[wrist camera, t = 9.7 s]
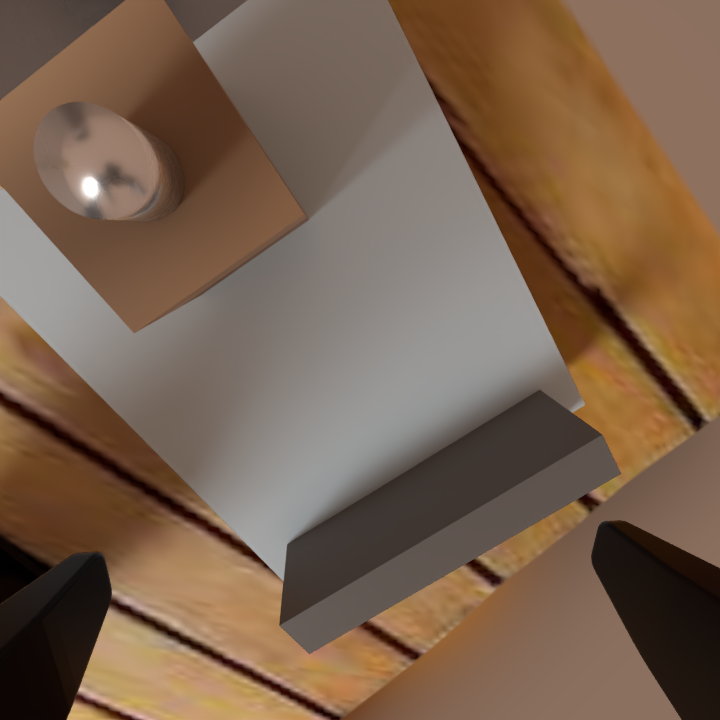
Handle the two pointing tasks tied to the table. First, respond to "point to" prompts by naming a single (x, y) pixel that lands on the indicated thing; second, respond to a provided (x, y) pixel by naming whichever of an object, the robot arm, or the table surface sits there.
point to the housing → (141, 165)
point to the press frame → (76, 29)
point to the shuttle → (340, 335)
